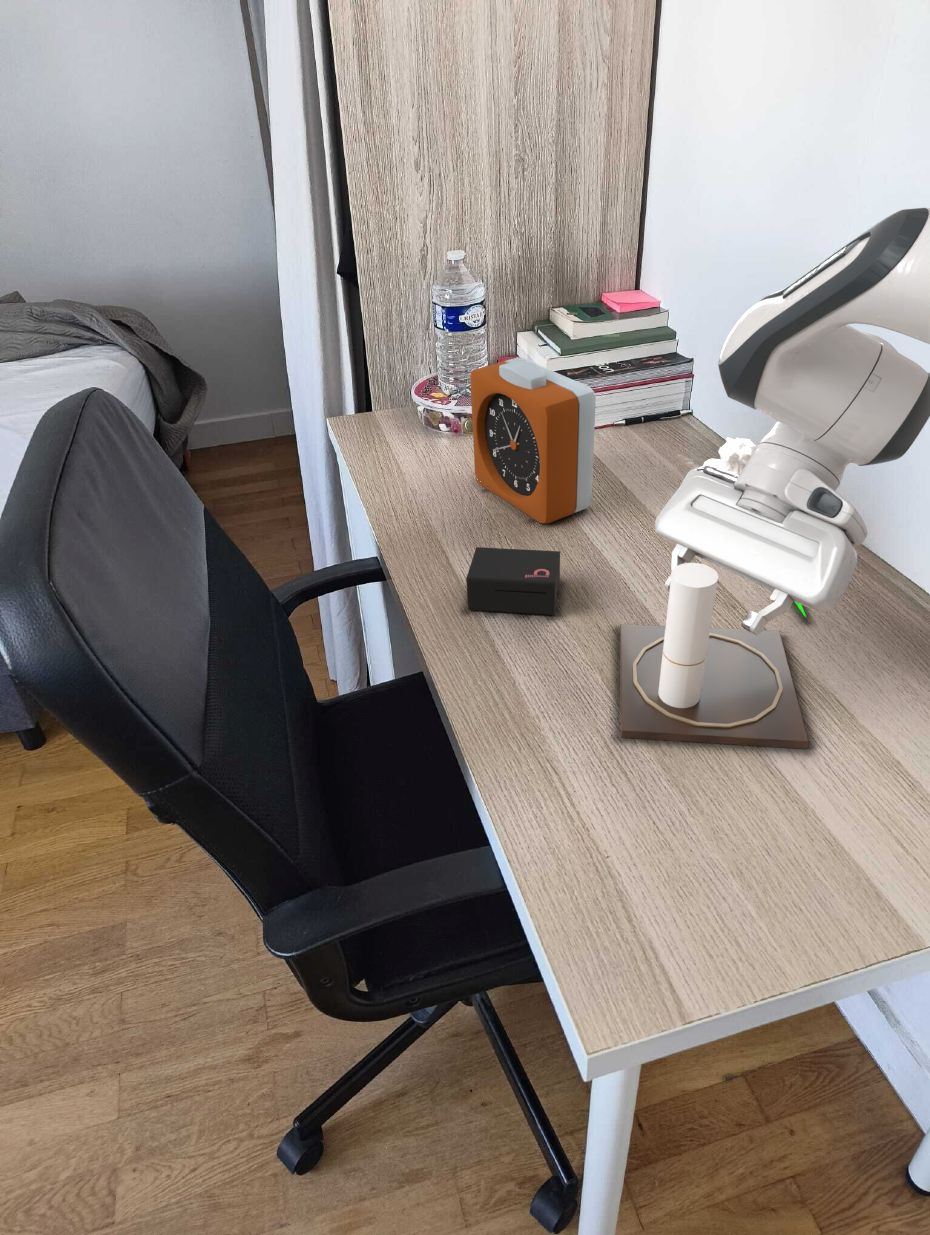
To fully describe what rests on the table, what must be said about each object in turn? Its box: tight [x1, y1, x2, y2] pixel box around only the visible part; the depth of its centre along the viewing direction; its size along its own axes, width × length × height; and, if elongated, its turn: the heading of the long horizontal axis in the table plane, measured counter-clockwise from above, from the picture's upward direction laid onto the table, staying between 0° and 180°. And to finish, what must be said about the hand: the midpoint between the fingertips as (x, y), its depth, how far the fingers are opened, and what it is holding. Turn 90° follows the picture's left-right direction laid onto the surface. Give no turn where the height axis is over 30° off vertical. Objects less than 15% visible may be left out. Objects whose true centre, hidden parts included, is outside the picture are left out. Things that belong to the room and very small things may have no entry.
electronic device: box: [466, 546, 561, 616], centre depth 104 cm, size 7×11×5 cm
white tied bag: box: [700, 436, 757, 475], centre depth 119 cm, size 12×8×11 cm
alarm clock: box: [469, 356, 597, 524], centre depth 121 cm, size 18×9×21 cm, turn 33°
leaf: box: [794, 602, 809, 622], centre depth 104 cm, size 1×14×1 cm, turn 179°
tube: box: [658, 562, 719, 708], centre depth 84 cm, size 4×4×15 cm
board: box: [619, 623, 810, 750], centre depth 90 cm, size 18×18×1 cm
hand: (709, 610), depth 85 cm, fingers open, 8 cm apart
